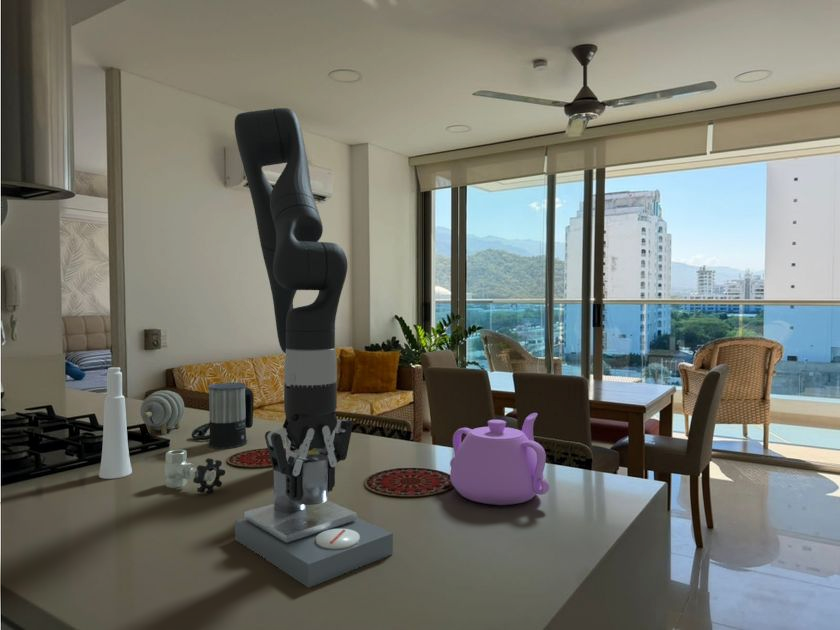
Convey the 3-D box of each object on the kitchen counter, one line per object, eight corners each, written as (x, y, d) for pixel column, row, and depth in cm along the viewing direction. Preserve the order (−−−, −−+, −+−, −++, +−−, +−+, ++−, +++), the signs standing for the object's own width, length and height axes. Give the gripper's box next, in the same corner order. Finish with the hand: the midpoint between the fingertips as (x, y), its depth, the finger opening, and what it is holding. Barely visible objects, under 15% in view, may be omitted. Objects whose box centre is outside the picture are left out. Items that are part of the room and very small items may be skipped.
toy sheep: (193, 424, 166) (192, 386, 166) (169, 439, 149) (168, 396, 149) (155, 424, 166) (155, 386, 166) (127, 439, 149) (127, 396, 149)
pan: (312, 499, 96) (312, 493, 96) (356, 519, 87) (356, 513, 87) (244, 518, 87) (244, 511, 87) (286, 542, 79) (286, 535, 79)
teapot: (584, 491, 110) (585, 418, 110) (520, 523, 95) (521, 438, 94) (490, 467, 125) (490, 403, 125) (421, 492, 110) (421, 419, 109)
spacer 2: (315, 491, 88) (315, 452, 88) (334, 499, 85) (334, 458, 85) (288, 498, 85) (288, 458, 85) (306, 507, 82) (306, 465, 81)
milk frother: (239, 449, 139) (239, 388, 139) (174, 448, 140) (174, 387, 140) (258, 435, 154) (257, 379, 153) (199, 434, 154) (198, 379, 154)
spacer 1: (295, 499, 93) (295, 462, 93) (311, 507, 89) (311, 468, 89) (267, 506, 89) (267, 468, 89) (284, 515, 86) (284, 475, 86)
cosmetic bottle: (128, 477, 117) (127, 369, 117) (95, 480, 116) (94, 370, 115) (134, 469, 123) (133, 365, 122) (102, 471, 121) (101, 366, 121)
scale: (313, 515, 97) (313, 494, 97) (392, 554, 83) (392, 529, 83) (235, 539, 88) (234, 516, 87) (308, 587, 73) (308, 559, 73)
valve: (154, 488, 111) (196, 499, 105) (154, 454, 111) (196, 463, 105) (183, 479, 117) (225, 489, 111) (183, 446, 117) (225, 454, 111)
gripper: (336, 372, 92) (336, 479, 93) (252, 381, 82) (253, 500, 83) (365, 377, 87) (365, 490, 87) (280, 387, 77) (280, 515, 77)
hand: (310, 494), depth 85 cm, fingers closed on spacer 2, 4 cm apart
